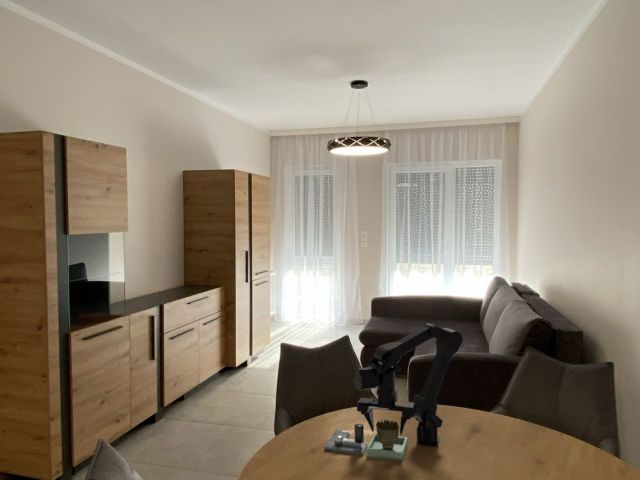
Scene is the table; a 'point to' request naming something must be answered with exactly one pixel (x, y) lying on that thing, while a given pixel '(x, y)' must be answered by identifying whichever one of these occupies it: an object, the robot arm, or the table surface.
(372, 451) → the tray
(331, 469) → the table surface
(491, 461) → the table surface
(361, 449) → the grey l-bracket
